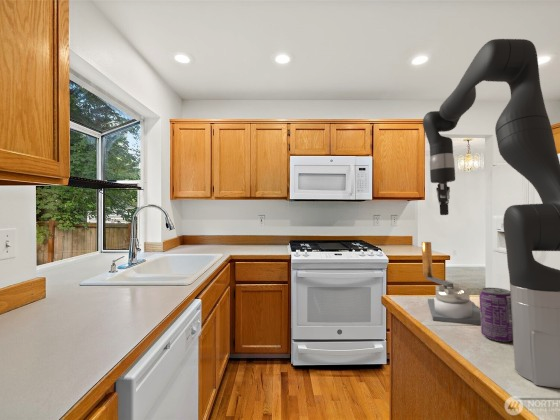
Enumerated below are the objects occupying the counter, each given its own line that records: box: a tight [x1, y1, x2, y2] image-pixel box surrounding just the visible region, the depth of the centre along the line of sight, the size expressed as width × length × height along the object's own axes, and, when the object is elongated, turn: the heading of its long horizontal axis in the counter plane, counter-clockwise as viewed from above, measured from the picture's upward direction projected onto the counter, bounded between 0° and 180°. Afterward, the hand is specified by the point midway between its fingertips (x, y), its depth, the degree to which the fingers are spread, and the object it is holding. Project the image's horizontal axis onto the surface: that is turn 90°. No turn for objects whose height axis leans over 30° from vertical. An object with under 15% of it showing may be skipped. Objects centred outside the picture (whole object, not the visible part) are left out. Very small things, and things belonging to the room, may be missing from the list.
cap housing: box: [427, 296, 481, 326], centre depth 94 cm, size 20×14×5 cm
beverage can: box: [478, 287, 513, 343], centre depth 74 cm, size 7×7×12 cm
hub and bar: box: [421, 241, 471, 303], centre depth 95 cm, size 19×9×16 cm, turn 3°
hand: (444, 215), depth 101 cm, fingers open, 8 cm apart
